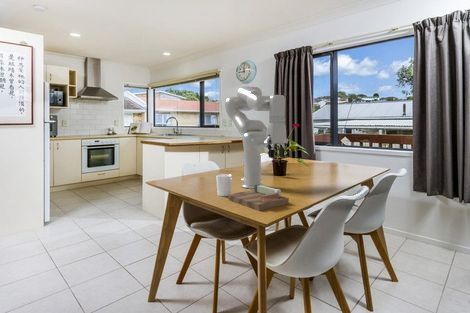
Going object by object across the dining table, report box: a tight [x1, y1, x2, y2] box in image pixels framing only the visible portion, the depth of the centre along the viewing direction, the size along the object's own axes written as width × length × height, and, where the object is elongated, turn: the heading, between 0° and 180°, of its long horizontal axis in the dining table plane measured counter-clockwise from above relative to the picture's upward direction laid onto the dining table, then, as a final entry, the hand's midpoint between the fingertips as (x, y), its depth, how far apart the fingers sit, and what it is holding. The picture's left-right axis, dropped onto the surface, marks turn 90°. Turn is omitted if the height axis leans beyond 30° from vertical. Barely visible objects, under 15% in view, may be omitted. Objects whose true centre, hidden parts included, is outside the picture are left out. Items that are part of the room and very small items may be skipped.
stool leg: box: [253, 184, 282, 197], centre depth 136 cm, size 16×3×3 cm, turn 37°
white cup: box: [215, 173, 233, 197], centre depth 145 cm, size 8×8×10 cm
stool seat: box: [227, 189, 290, 211], centre depth 132 cm, size 22×18×6 cm
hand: (276, 156), depth 142 cm, fingers open, 6 cm apart
